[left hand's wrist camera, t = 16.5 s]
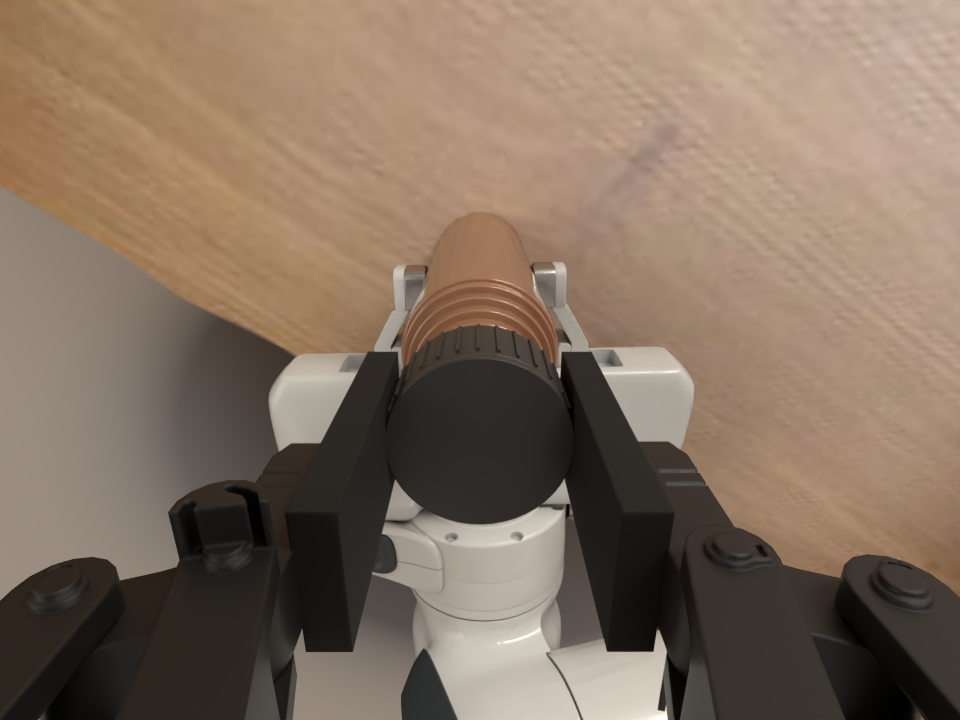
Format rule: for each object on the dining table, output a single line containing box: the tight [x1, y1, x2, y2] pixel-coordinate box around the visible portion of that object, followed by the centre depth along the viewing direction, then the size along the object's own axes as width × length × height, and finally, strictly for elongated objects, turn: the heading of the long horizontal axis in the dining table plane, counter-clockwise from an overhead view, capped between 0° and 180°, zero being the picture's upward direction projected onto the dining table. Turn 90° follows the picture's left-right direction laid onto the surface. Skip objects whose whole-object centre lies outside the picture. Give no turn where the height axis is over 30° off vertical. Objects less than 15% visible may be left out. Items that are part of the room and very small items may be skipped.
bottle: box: [401, 213, 558, 368], centre depth 22 cm, size 5×5×21 cm
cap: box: [386, 324, 574, 525], centre depth 13 cm, size 4×4×2 cm
